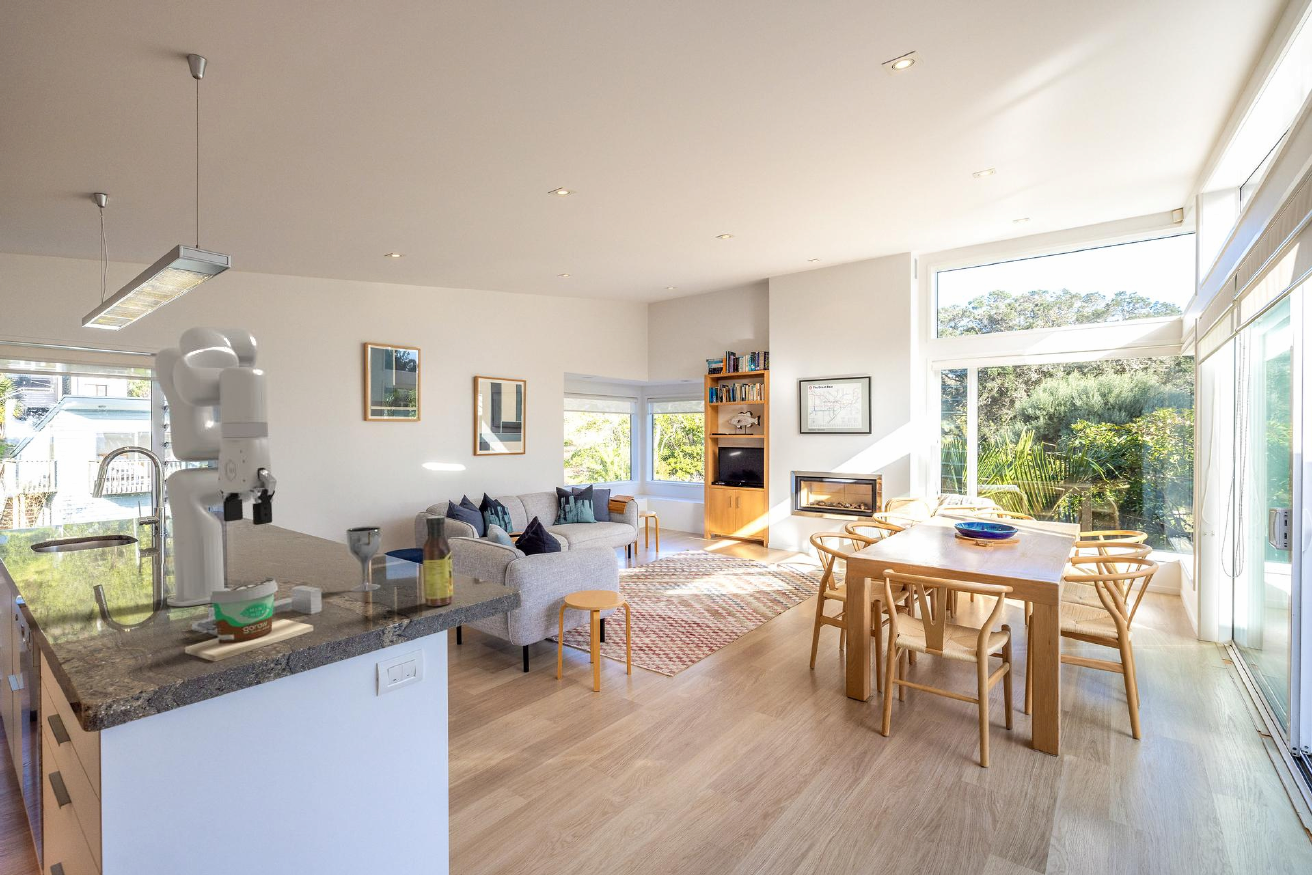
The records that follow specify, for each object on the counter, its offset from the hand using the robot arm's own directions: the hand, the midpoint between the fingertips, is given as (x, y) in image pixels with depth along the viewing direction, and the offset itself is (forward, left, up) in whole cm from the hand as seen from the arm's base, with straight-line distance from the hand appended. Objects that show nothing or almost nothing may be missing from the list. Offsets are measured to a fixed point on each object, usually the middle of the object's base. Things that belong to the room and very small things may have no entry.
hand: (247, 522), depth 120 cm
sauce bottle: (+14, +33, -23) cm, 43 cm away
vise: (-12, +7, -23) cm, 27 cm away
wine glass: (-14, +35, -23) cm, 45 cm away
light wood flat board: (0, 0, -23) cm, 23 cm away
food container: (+1, 0, -22) cm, 22 cm away
